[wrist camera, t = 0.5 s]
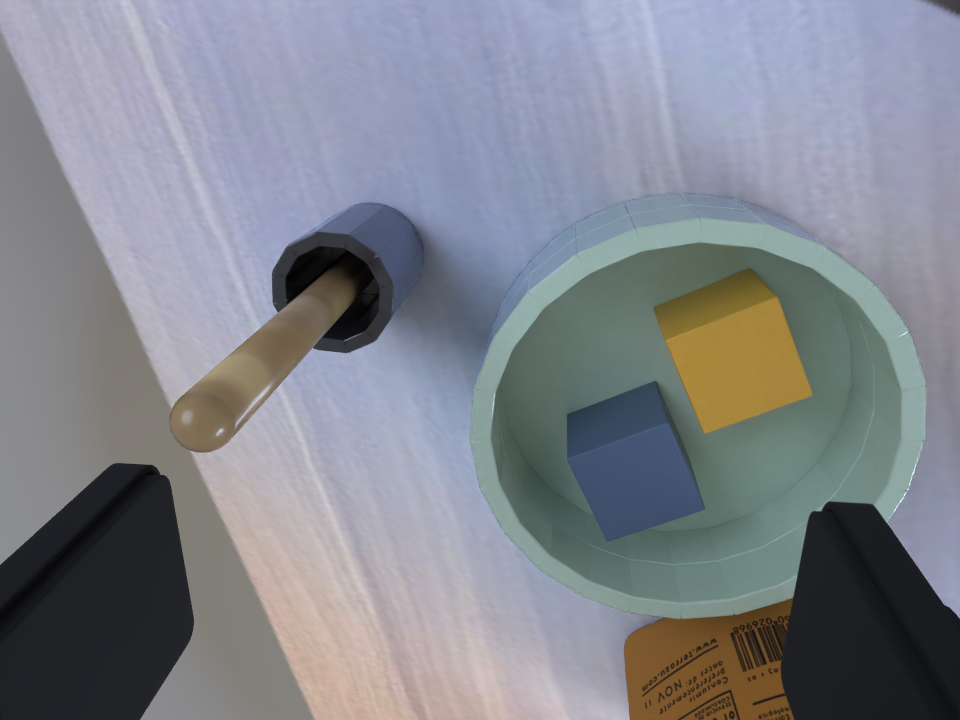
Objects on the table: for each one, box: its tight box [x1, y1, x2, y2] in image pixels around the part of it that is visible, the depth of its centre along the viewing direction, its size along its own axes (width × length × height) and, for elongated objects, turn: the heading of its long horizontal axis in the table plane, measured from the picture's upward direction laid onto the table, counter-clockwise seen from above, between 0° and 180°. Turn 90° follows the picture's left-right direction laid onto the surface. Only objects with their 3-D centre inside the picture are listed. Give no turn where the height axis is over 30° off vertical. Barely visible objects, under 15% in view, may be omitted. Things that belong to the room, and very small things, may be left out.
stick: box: [170, 252, 374, 452], centre depth 23 cm, size 1×1×16 cm
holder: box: [272, 203, 424, 353], centre depth 28 cm, size 4×4×6 cm
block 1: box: [567, 381, 705, 542], centre depth 30 cm, size 4×4×4 cm
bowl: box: [470, 193, 926, 619], centre depth 29 cm, size 16×16×6 cm
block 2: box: [653, 268, 813, 434], centre depth 28 cm, size 4×4×4 cm
